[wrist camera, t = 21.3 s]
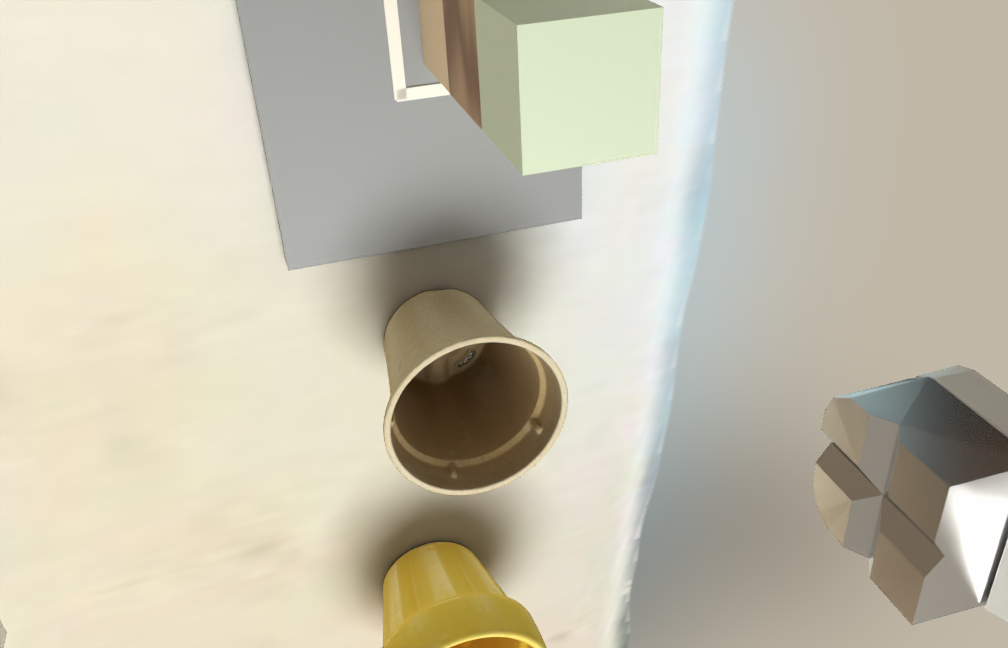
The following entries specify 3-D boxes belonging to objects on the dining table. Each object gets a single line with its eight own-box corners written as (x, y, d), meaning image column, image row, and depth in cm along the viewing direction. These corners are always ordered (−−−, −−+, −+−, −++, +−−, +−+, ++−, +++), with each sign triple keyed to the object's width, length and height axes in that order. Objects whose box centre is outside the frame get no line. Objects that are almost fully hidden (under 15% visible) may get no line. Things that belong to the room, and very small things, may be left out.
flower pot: (389, 239, 48) (426, 318, 41) (541, 282, 52) (598, 359, 45) (331, 385, 52) (356, 481, 44) (478, 414, 56) (522, 506, 49)
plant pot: (515, 602, 65) (563, 718, 57) (375, 652, 63) (404, 778, 55) (493, 498, 59) (542, 609, 51) (338, 549, 58) (365, 673, 50)
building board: (178, -297, 35) (178, -310, 30) (573, -311, 38) (629, -325, 33) (286, 263, 47) (299, 317, 42) (576, 212, 51) (618, 257, 46)
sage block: (473, -6, 32) (516, 25, 28) (604, -20, 34) (663, 7, 29) (482, 130, 35) (522, 175, 31) (602, 111, 36) (657, 153, 32)
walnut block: (440, -29, 37) (473, -6, 32) (556, -42, 38) (603, -21, 34) (449, 93, 39) (481, 129, 35) (558, 78, 40) (602, 111, 36)
